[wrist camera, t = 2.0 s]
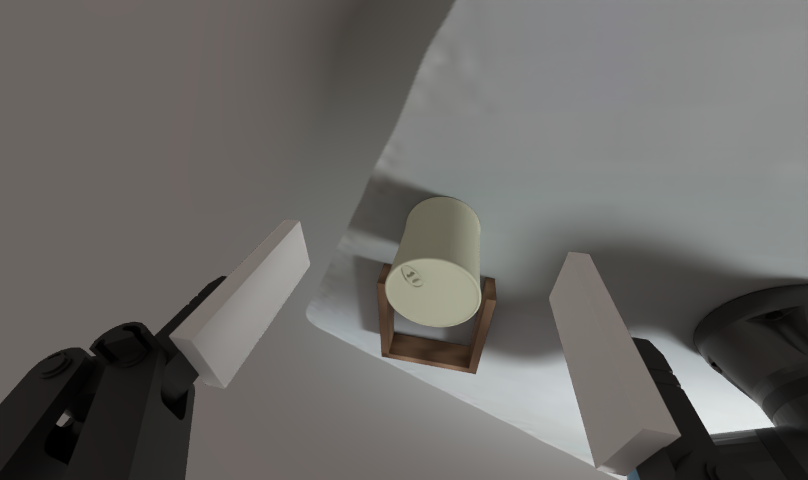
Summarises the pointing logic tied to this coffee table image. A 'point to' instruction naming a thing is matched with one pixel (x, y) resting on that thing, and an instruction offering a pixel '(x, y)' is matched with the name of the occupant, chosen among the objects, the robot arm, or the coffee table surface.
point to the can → (437, 264)
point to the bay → (431, 349)
